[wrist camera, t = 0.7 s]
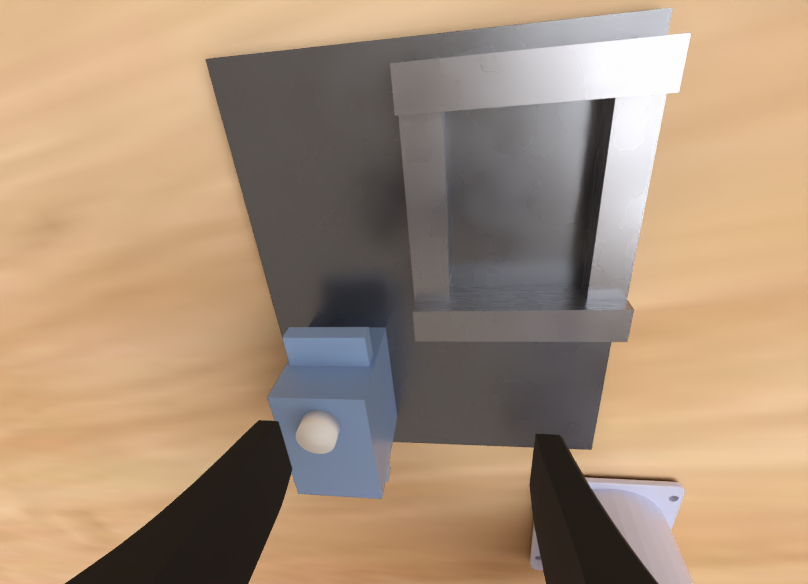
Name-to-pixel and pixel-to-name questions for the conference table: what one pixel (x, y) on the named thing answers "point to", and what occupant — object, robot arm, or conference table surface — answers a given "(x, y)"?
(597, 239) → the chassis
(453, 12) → the conference table surface
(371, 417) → the servo
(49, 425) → the conference table surface
